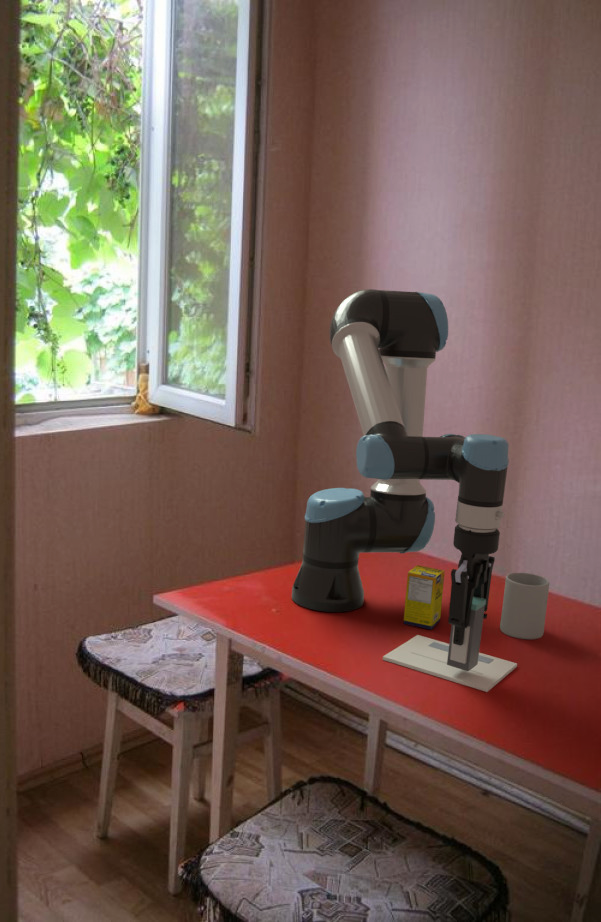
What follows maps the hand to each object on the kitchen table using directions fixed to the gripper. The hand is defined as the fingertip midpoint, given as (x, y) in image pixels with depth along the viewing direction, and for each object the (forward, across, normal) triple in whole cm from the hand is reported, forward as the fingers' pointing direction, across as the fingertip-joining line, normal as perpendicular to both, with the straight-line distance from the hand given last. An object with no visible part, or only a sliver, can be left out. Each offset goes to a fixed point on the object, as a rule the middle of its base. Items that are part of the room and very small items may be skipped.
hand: (463, 656), depth 165 cm
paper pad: (+4, +4, +4) cm, 7 cm away
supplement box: (+4, +19, +17) cm, 26 cm away
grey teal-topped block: (+2, 0, 0) cm, 2 cm away
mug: (+4, +30, +1) cm, 30 cm away
